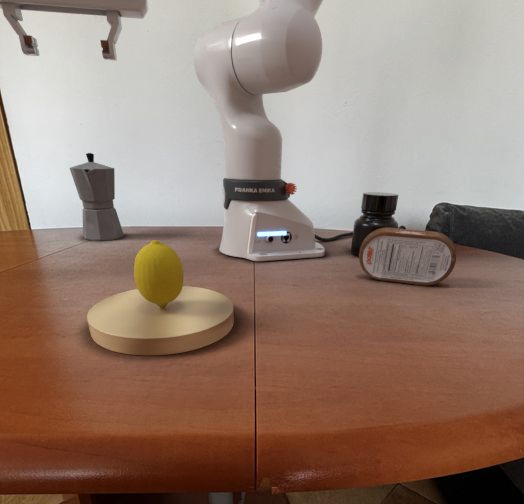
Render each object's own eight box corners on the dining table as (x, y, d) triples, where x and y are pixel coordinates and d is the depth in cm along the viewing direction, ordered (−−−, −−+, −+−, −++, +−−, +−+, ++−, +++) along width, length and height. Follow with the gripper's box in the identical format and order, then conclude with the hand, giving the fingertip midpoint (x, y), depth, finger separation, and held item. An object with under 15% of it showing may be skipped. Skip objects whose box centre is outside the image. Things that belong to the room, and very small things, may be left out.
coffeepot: (121, 242, 86) (107, 153, 78) (77, 243, 84) (58, 152, 76) (128, 230, 99) (117, 153, 91) (90, 230, 98) (75, 152, 89)
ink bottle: (393, 251, 83) (403, 192, 78) (396, 261, 76) (408, 197, 70) (348, 248, 85) (355, 191, 80) (347, 257, 78) (355, 194, 72)
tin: (448, 284, 63) (461, 232, 59) (450, 290, 60) (464, 236, 56) (356, 274, 67) (363, 225, 63) (354, 279, 64) (361, 228, 60)
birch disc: (228, 297, 55) (227, 283, 54) (240, 350, 40) (240, 333, 39) (106, 301, 53) (103, 287, 52) (72, 360, 38) (67, 342, 37)
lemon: (143, 299, 48) (135, 235, 44) (188, 299, 48) (183, 235, 44) (134, 316, 43) (123, 245, 39) (183, 315, 43) (177, 245, 40)
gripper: (144, -74, 46) (157, 66, 52) (-42, -94, 43) (-4, 57, 49) (138, -105, 40) (152, 56, 47) (-76, -130, 37) (-29, 46, 44)
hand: (71, 57), depth 48 cm, fingers open, 8 cm apart
